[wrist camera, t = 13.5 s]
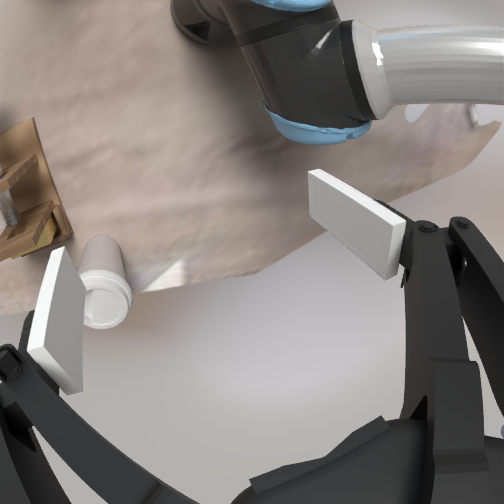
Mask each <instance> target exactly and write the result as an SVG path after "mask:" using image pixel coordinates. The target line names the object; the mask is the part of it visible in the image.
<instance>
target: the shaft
mask: <svg viewBox="0 0 504 504" xmlns="http://www.w3.org/2000/svg"><path fill="white" fill-rule="evenodd" d="M3 176H4V173H3V170H2V167H1V165H0V179H1V178H2V177H3ZM0 210H1V213H2V215H3V217H4V220H5V222H6V224H7V226H8V227H11V226H13V225H15V224H17V223H18V222H19V221H20V220H21V216H20V214H19V211H18V209H17V207H16V204H15V202H14V199H13V197H12V194H11V192H10V189H9V190H7V191H5V192H3V193H1V194H0Z"/></svg>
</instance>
